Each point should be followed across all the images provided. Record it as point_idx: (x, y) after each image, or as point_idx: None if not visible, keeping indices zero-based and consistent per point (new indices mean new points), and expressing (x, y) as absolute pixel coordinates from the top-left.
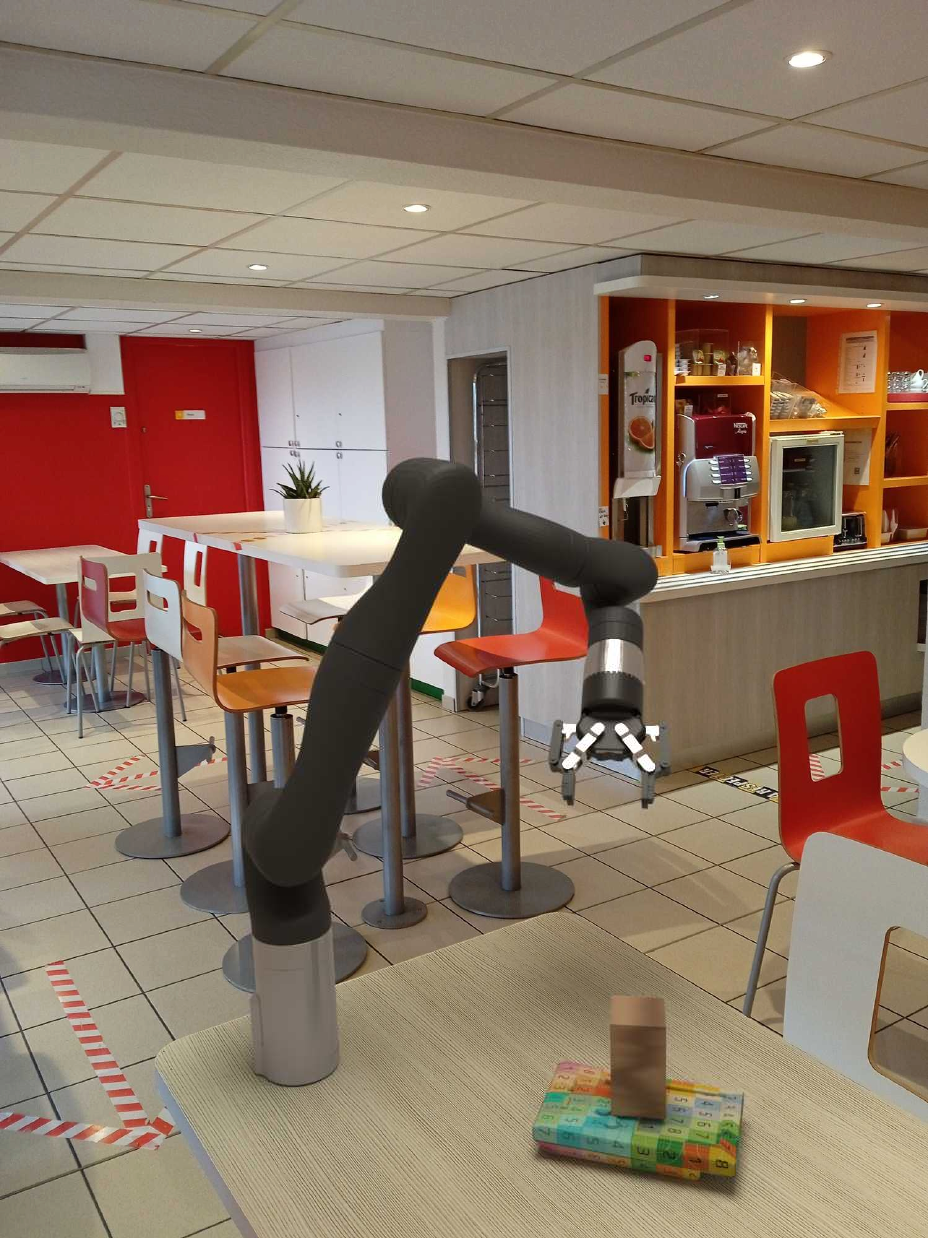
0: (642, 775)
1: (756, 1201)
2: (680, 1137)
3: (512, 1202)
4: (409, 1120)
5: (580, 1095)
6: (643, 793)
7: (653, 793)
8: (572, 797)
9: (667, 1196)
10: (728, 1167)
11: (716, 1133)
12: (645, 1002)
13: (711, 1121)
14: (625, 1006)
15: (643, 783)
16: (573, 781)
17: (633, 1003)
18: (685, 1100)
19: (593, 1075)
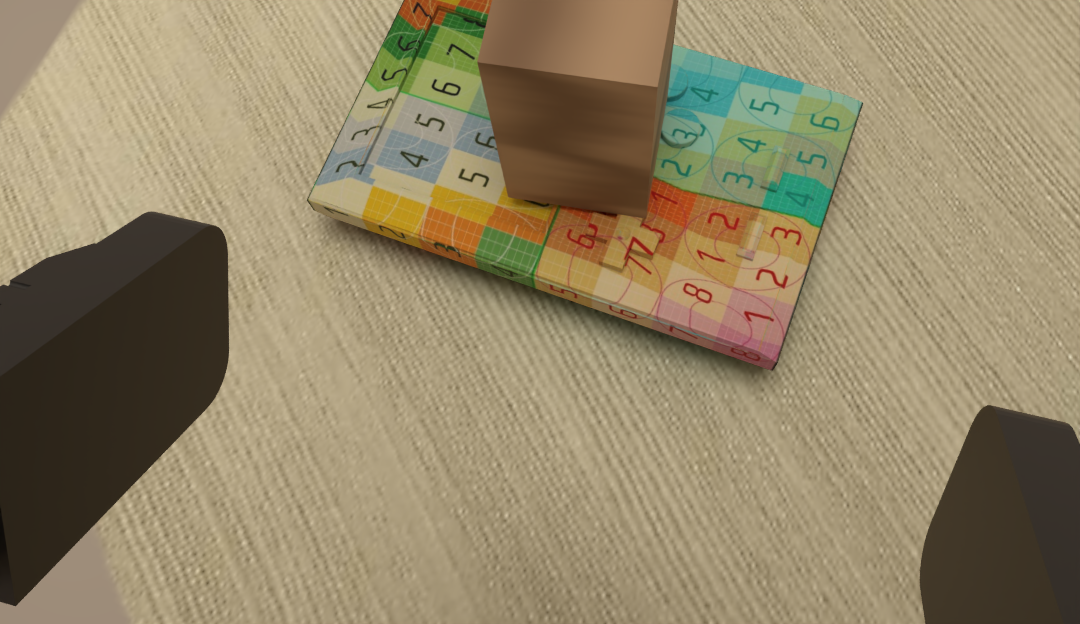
0: (11, 360)
1: (393, 3)
2: None
3: (891, 19)
4: None
5: (733, 195)
6: (152, 246)
7: (38, 266)
8: (983, 423)
9: None
10: None
11: (426, 57)
12: (545, 41)
13: (424, 97)
14: (618, 20)
15: (75, 301)
16: (1028, 559)
17: (587, 38)
18: (463, 174)
19: (687, 276)
